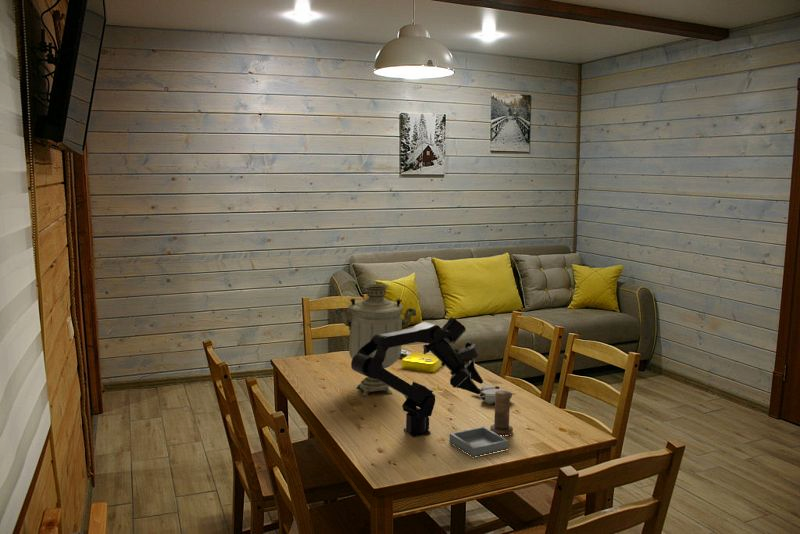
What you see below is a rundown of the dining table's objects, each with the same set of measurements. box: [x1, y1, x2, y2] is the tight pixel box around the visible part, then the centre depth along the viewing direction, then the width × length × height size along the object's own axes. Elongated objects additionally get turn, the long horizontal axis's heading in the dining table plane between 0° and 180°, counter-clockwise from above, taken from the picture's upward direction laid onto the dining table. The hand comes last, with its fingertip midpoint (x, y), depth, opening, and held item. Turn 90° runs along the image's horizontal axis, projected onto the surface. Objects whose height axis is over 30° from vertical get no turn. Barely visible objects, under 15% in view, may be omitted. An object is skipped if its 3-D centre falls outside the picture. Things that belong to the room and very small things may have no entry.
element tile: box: [401, 351, 443, 373], centre depth 284 cm, size 15×15×5 cm
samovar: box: [335, 283, 417, 397], centre depth 251 cm, size 30×26×40 cm
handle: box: [489, 390, 514, 436], centre depth 211 cm, size 7×7×13 cm
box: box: [449, 426, 510, 458], centre depth 200 cm, size 13×13×3 cm
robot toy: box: [479, 384, 516, 405], centre depth 243 cm, size 12×4×15 cm
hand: (481, 387), depth 212 cm, fingers open, 9 cm apart
